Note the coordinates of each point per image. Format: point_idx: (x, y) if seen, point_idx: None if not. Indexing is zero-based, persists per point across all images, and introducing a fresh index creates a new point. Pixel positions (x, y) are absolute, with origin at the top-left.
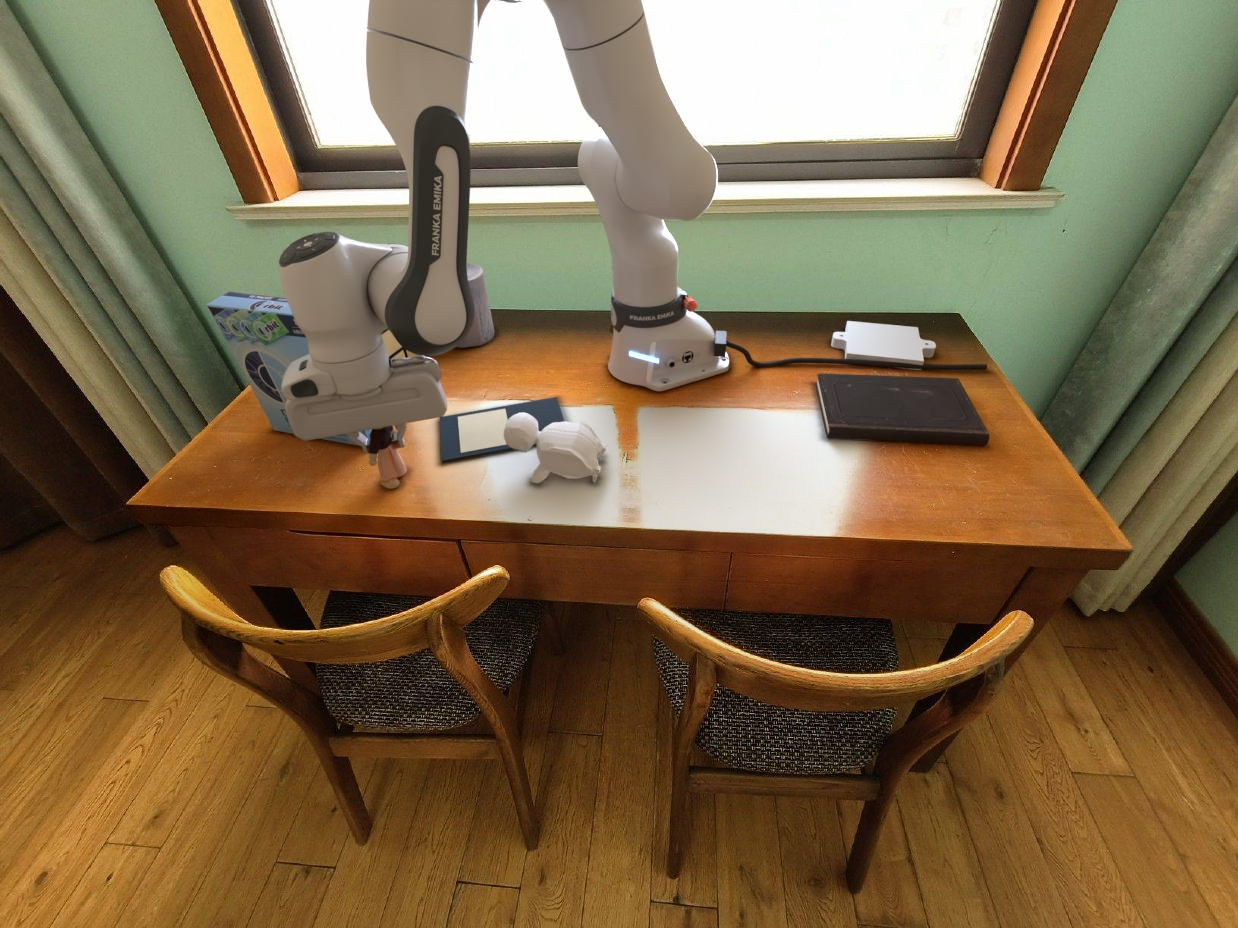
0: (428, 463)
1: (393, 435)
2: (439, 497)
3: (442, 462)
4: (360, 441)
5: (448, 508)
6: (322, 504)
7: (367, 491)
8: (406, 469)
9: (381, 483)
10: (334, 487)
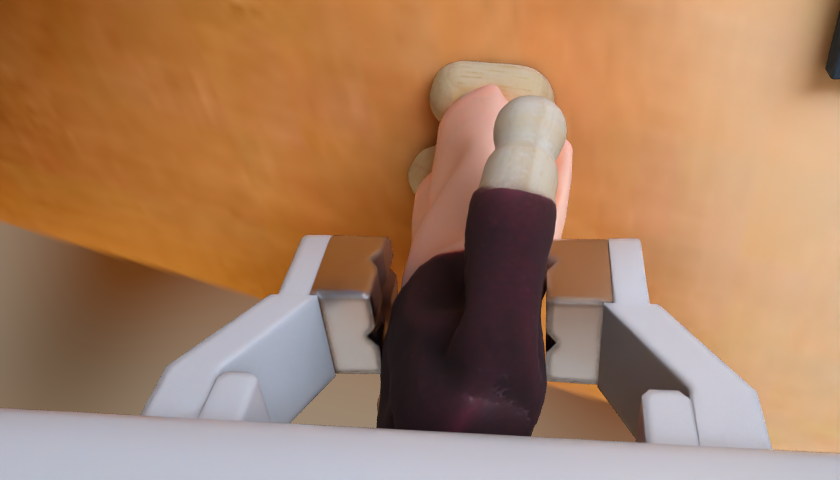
0: (722, 42)
1: (563, 327)
2: (732, 334)
3: (830, 73)
4: (294, 414)
5: (760, 402)
6: (126, 229)
7: (336, 199)
8: (572, 153)
9: (411, 187)
10: (129, 120)
